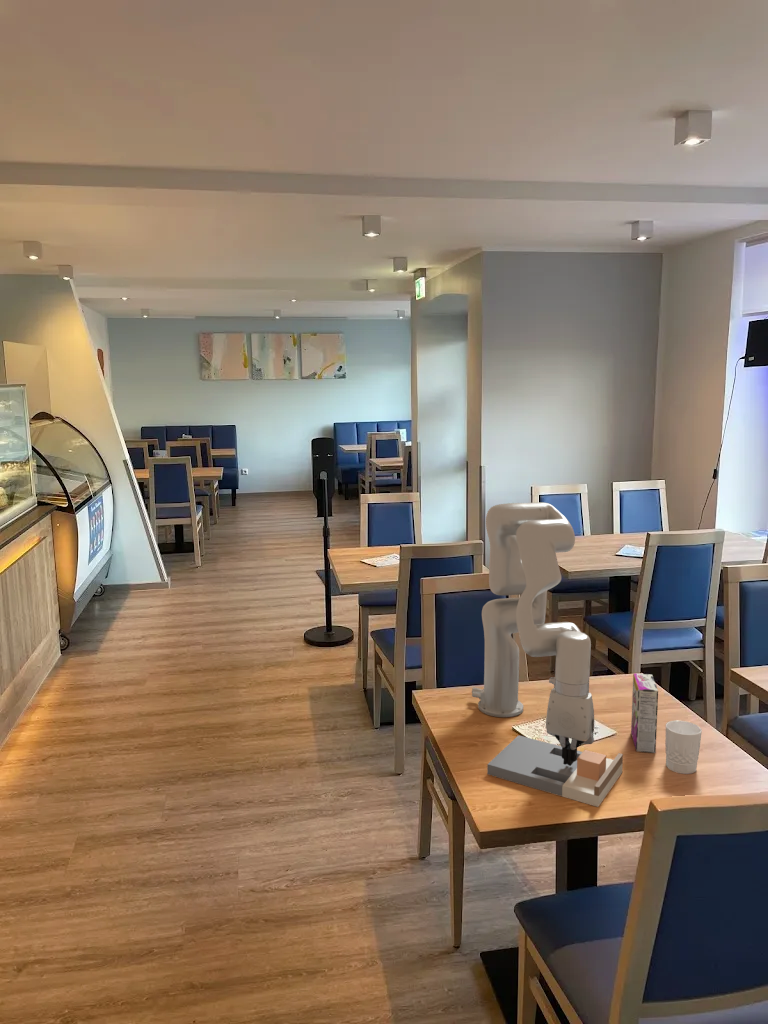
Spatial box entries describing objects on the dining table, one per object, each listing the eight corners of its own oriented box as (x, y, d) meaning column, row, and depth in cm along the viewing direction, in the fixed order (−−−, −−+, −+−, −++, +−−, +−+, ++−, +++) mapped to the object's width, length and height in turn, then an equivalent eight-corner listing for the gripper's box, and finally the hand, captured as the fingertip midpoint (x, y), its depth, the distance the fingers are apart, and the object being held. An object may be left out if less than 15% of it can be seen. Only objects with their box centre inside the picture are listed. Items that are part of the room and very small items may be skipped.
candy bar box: (629, 732, 196) (632, 672, 194) (649, 734, 195) (652, 673, 193) (634, 752, 186) (638, 688, 183) (656, 754, 185) (659, 690, 182)
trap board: (487, 774, 175) (487, 756, 174) (518, 744, 190) (518, 727, 189) (598, 807, 161) (599, 787, 160) (622, 772, 176) (623, 754, 175)
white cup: (658, 759, 182) (660, 720, 180) (691, 759, 182) (694, 720, 180) (670, 775, 174) (672, 734, 173) (704, 775, 174) (707, 735, 172)
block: (576, 775, 169) (577, 758, 169) (584, 765, 173) (584, 749, 173) (598, 781, 167) (599, 764, 166) (605, 771, 171) (606, 755, 170)
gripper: (534, 685, 171) (532, 761, 174) (599, 699, 163) (596, 778, 166) (546, 675, 177) (544, 748, 180) (609, 688, 169) (606, 764, 172)
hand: (569, 762), depth 173 cm, fingers closed
